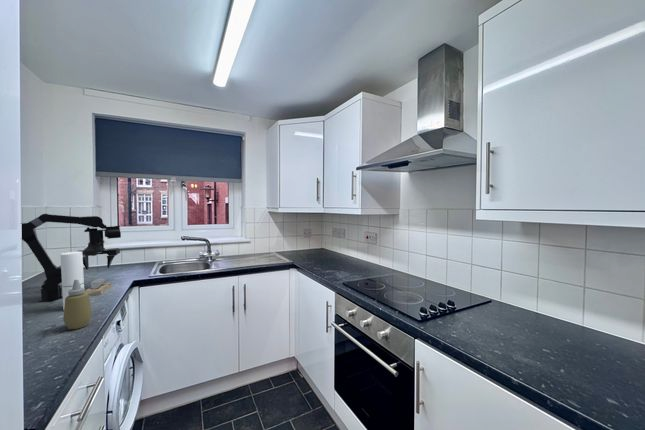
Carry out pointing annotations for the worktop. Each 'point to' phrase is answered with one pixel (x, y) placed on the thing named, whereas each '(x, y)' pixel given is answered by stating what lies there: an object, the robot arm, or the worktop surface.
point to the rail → (100, 290)
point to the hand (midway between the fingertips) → (98, 268)
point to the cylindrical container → (71, 271)
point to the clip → (97, 283)
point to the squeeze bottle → (77, 307)
